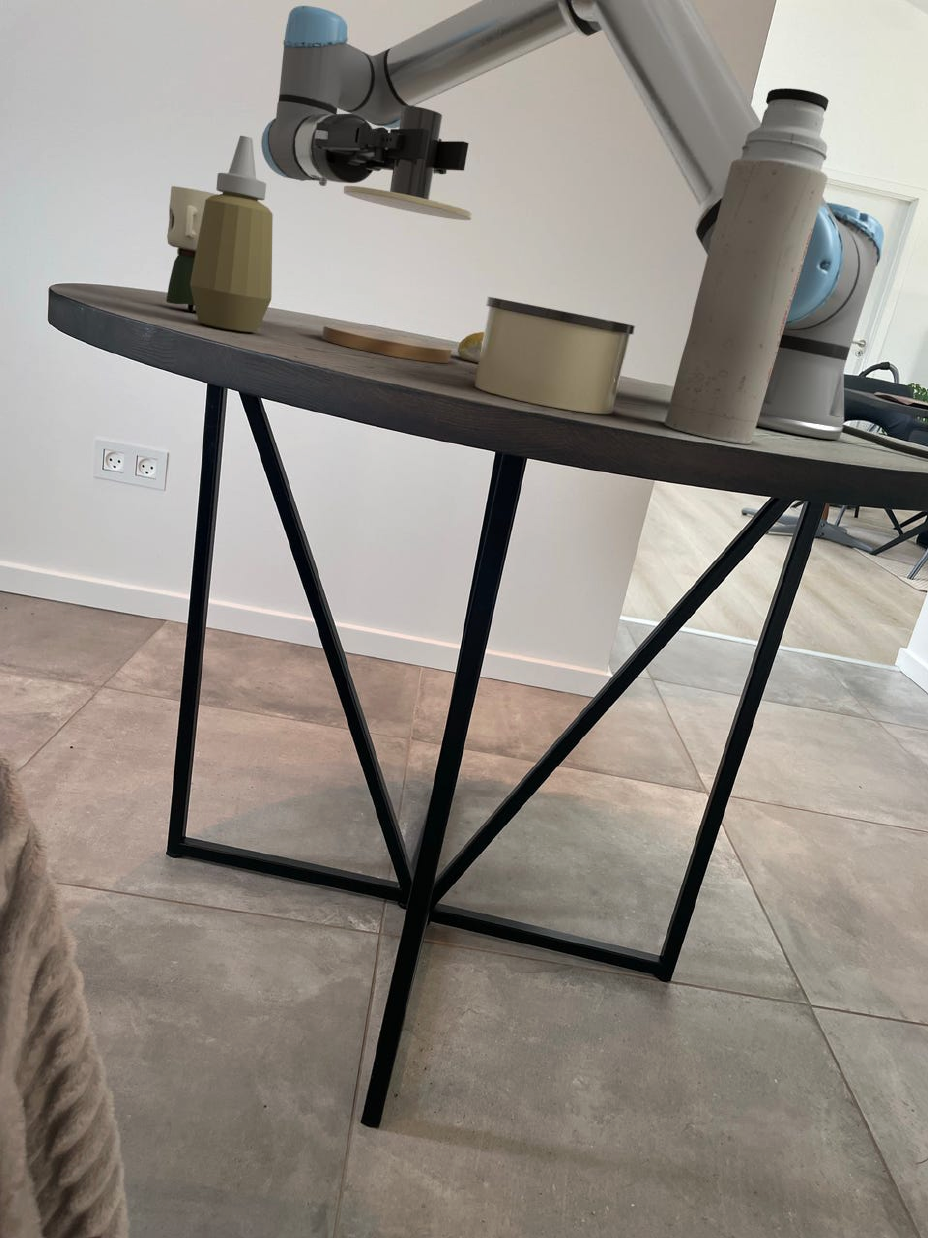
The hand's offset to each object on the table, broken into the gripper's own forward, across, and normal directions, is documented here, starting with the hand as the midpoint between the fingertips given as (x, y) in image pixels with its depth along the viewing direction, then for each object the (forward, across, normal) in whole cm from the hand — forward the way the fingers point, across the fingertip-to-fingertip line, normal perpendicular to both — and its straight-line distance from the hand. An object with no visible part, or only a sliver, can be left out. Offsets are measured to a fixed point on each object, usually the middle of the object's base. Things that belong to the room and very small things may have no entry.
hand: (443, 149), depth 98 cm
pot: (+24, 0, -21) cm, 32 cm away
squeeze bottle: (-4, +20, -22) cm, 30 cm away
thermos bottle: (+35, -10, -22) cm, 43 cm away
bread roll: (-6, -16, -22) cm, 28 cm away
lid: (-5, 0, -6) cm, 8 cm away
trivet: (-5, 0, -22) cm, 22 cm away
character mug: (-21, +17, -22) cm, 35 cm away
